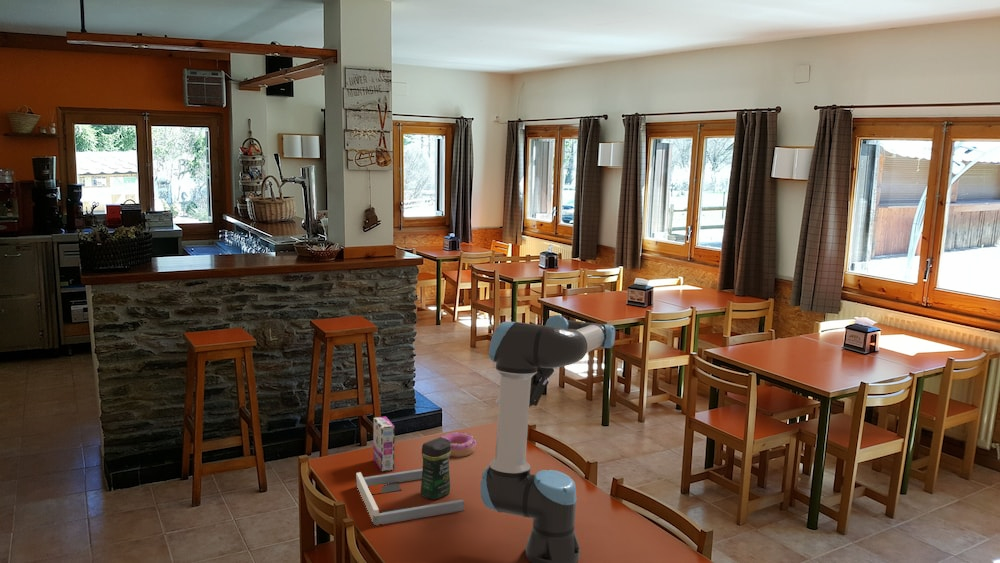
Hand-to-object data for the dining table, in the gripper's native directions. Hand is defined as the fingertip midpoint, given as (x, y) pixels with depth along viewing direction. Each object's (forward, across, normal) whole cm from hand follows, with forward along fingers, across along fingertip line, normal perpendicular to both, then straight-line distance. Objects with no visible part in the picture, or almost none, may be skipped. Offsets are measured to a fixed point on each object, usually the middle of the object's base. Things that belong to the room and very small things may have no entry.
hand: (505, 410), depth 243 cm
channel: (+42, +1, +6) cm, 42 cm away
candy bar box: (+42, +28, +6) cm, 51 cm away
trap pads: (+46, +1, +10) cm, 47 cm away
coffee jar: (+36, +1, -1) cm, 36 cm away
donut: (+22, +31, -15) cm, 41 cm away
